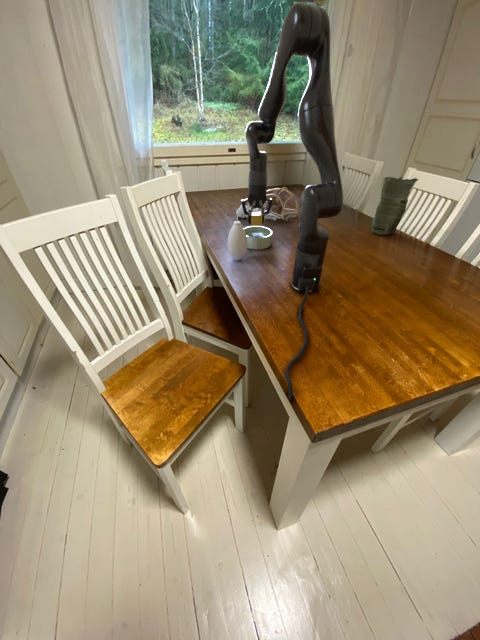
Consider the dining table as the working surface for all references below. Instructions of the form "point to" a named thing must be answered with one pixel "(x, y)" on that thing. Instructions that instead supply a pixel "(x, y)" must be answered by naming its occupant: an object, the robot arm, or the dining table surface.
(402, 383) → the dining table surface
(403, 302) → the dining table surface
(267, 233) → the bowl
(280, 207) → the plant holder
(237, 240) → the sauce bottle
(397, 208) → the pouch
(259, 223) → the mustard cube
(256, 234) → the blue cube
